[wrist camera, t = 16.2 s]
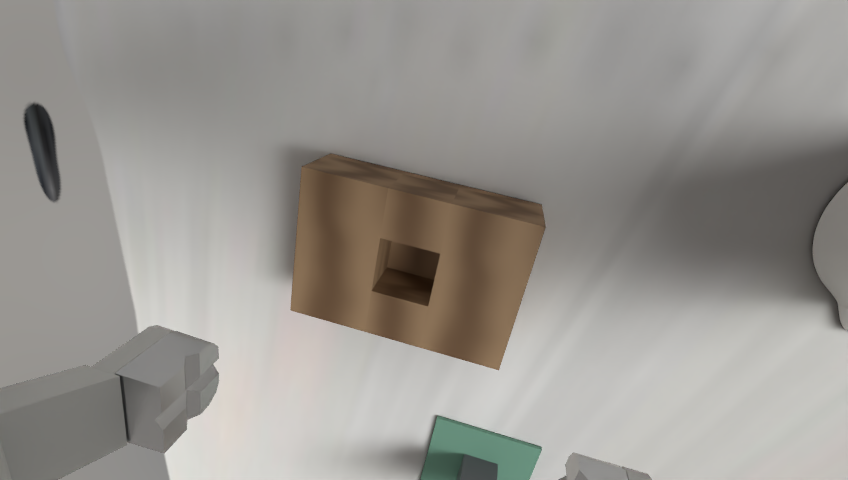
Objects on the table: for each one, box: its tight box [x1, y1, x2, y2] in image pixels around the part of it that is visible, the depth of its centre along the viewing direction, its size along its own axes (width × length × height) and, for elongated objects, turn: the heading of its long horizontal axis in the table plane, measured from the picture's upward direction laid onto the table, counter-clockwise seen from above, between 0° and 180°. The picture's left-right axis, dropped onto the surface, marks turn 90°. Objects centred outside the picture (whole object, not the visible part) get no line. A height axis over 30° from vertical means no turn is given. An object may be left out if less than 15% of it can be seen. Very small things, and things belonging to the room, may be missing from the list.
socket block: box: [291, 154, 546, 370], centre depth 40 cm, size 20×14×6 cm
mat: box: [420, 416, 542, 480], centre depth 51 cm, size 12×12×1 cm
